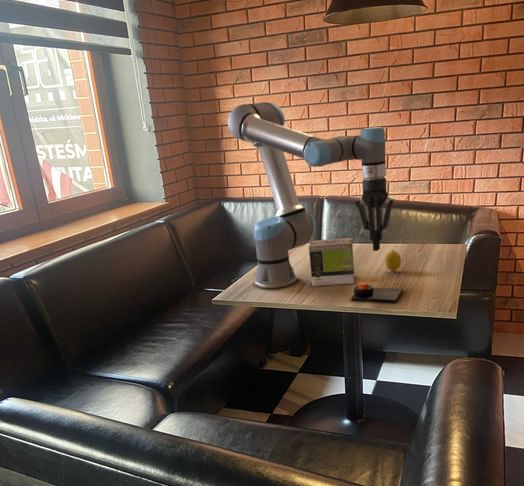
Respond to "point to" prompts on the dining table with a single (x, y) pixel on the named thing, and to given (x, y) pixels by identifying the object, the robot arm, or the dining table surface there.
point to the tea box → (331, 261)
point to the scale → (376, 294)
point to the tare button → (363, 285)
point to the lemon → (393, 260)
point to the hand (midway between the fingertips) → (376, 249)
